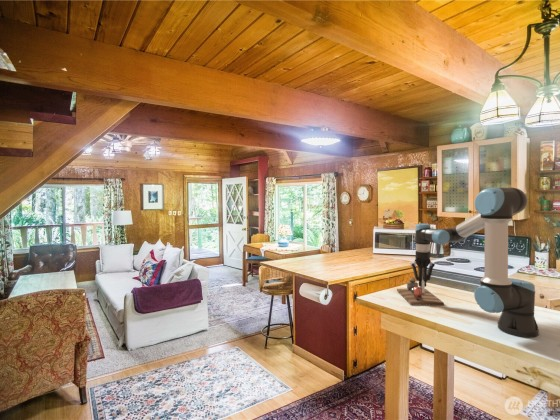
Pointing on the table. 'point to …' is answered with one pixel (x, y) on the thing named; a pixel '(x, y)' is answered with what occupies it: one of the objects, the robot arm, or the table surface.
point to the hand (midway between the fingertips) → (422, 292)
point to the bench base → (425, 298)
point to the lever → (416, 292)
